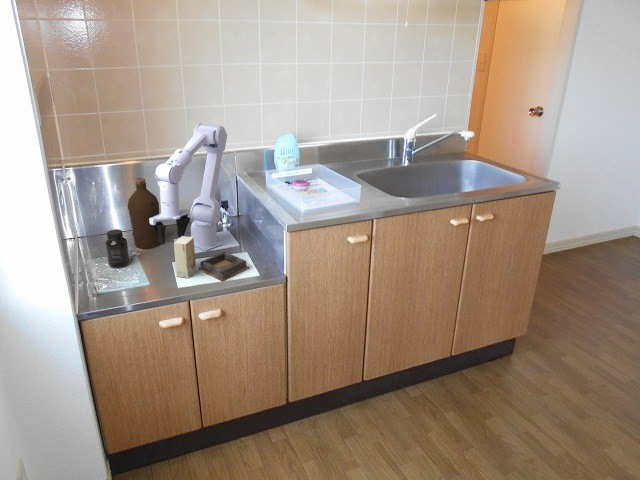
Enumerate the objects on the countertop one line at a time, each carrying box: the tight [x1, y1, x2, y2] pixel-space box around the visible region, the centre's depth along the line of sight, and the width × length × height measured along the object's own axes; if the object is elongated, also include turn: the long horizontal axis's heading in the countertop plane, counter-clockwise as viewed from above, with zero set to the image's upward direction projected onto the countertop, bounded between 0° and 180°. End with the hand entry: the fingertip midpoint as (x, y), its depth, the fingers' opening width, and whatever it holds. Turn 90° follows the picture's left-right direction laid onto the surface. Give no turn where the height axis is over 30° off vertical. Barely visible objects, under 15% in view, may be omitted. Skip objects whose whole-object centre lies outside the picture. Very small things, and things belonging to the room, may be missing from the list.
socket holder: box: [197, 251, 250, 282], centre depth 167 cm, size 12×12×3 cm
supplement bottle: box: [104, 228, 130, 269], centre depth 166 cm, size 7×7×12 cm
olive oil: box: [127, 177, 162, 250], centre depth 179 cm, size 11×11×25 cm
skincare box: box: [173, 235, 197, 279], centre depth 162 cm, size 6×4×12 cm
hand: (171, 240), depth 164 cm, fingers open, 7 cm apart
